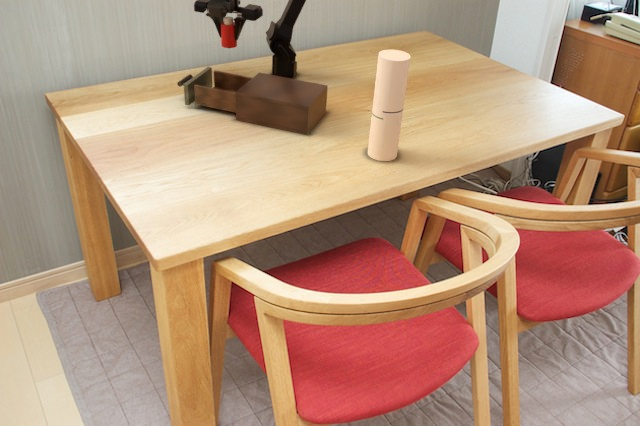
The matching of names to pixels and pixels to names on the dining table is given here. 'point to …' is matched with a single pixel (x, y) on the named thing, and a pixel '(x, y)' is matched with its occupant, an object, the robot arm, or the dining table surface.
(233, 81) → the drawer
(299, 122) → the cabinet
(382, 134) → the cylindrical container
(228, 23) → the ketchup bottle
